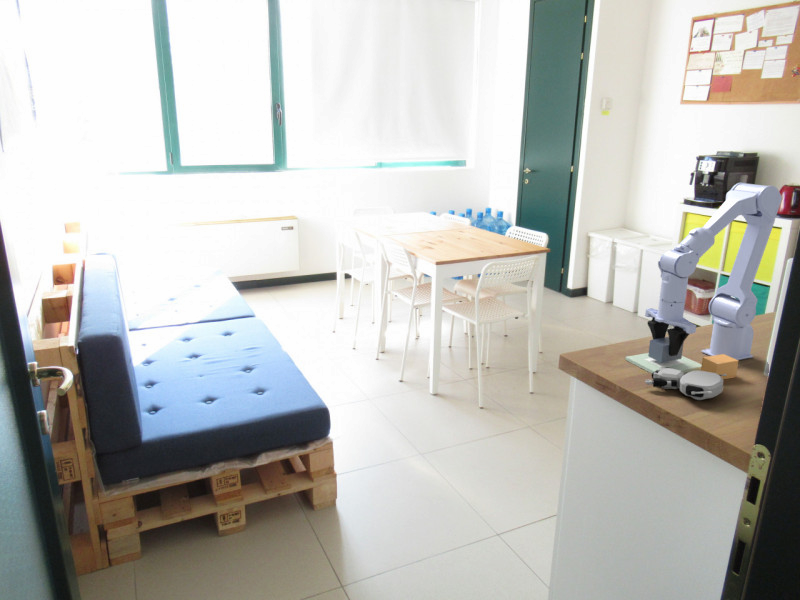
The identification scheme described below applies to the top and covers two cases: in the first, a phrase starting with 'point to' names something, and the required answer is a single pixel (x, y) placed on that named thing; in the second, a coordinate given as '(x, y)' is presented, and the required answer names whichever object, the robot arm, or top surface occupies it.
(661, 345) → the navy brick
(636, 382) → the top surface
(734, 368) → the orange brick
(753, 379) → the top surface
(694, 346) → the top surface
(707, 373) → the robot toy
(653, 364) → the baseplate
